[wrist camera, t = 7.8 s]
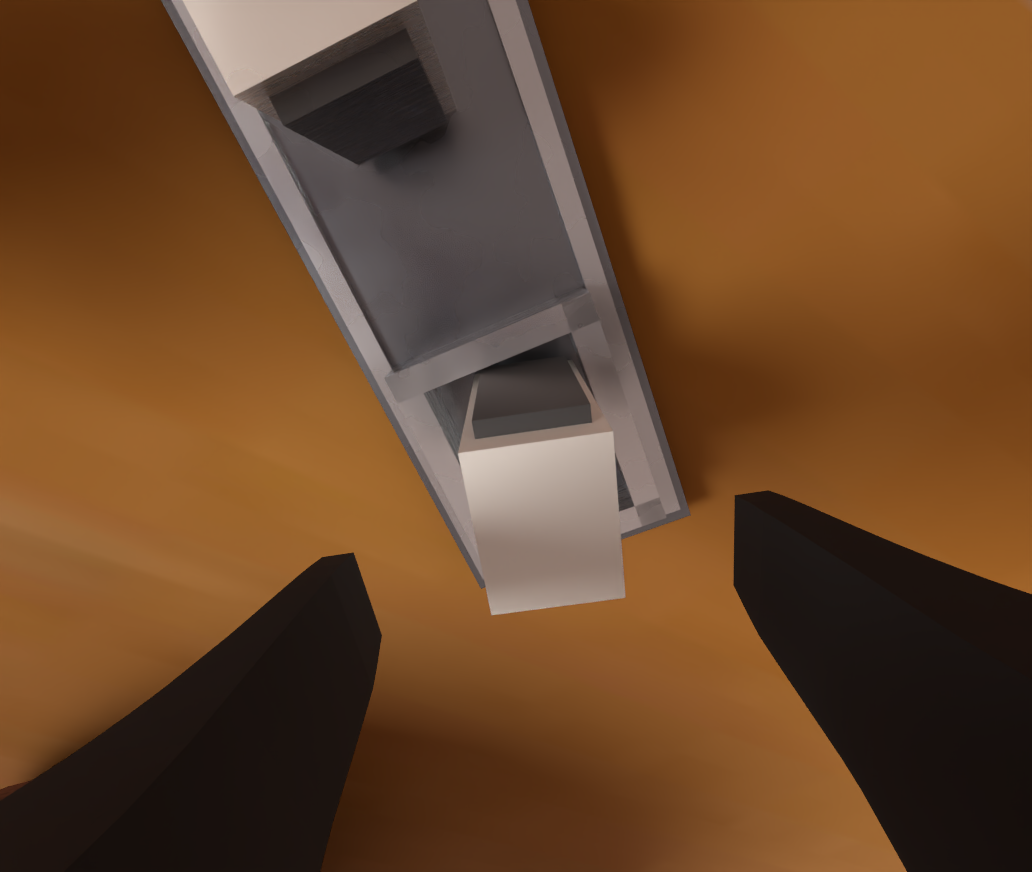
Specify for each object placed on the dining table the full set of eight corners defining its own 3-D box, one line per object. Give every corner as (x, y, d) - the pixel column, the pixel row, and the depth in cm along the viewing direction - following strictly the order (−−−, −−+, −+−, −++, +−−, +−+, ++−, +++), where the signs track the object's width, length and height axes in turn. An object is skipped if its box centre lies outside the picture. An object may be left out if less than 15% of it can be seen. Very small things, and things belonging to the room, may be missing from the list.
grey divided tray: (482, 571, 19) (470, 744, 12) (150, -51, 12) (-283, -406, 5) (681, 500, 18) (781, 648, 11) (448, -223, 11) (365, -918, 4)
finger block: (495, 488, 16) (491, 615, 11) (472, 361, 15) (454, 433, 9) (583, 475, 16) (625, 597, 11) (570, 347, 15) (611, 411, 9)
